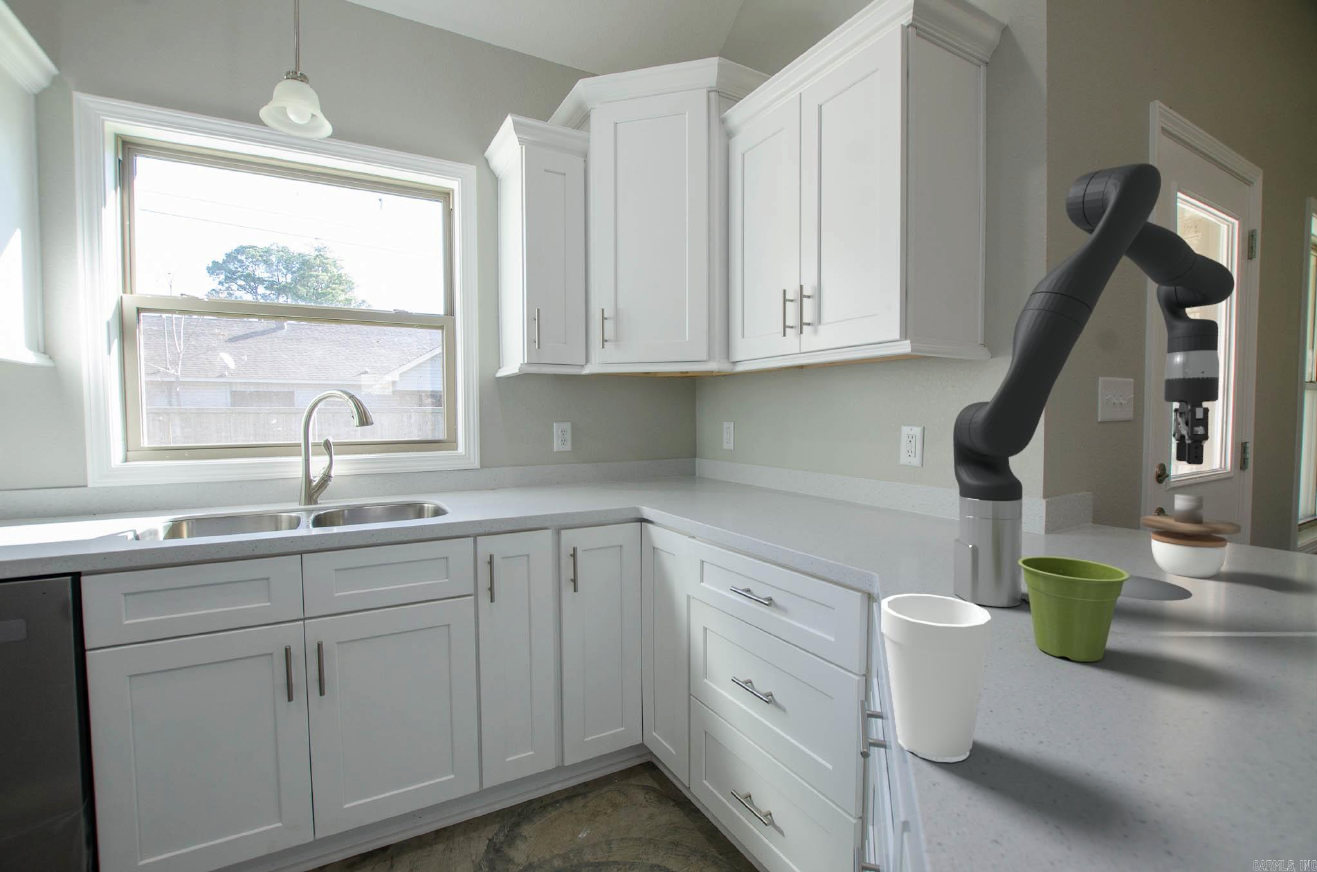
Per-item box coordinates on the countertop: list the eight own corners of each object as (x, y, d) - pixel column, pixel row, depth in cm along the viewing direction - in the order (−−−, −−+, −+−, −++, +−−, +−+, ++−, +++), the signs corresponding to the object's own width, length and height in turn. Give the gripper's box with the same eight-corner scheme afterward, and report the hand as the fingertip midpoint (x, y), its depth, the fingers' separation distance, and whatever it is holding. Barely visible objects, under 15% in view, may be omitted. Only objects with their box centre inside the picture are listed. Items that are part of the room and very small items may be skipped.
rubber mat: (1113, 603, 95) (1113, 600, 95) (1047, 575, 112) (1047, 572, 112) (1220, 603, 95) (1221, 600, 95) (1138, 575, 112) (1138, 572, 112)
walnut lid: (1181, 534, 104) (1182, 501, 103) (1122, 520, 118) (1122, 491, 117) (1263, 534, 103) (1264, 500, 103) (1194, 520, 117) (1194, 490, 117)
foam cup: (864, 720, 60) (864, 595, 60) (950, 715, 61) (951, 592, 60) (912, 777, 50) (912, 629, 50) (1013, 770, 51) (1014, 624, 51)
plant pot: (1096, 679, 69) (1097, 584, 68) (997, 644, 79) (998, 562, 79) (1147, 659, 74) (1148, 571, 74) (1048, 629, 84) (1049, 552, 84)
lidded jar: (1242, 585, 104) (1243, 533, 104) (1173, 582, 107) (1174, 531, 106) (1199, 570, 115) (1200, 522, 115) (1137, 567, 117) (1138, 521, 117)
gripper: (1229, 373, 101) (1227, 466, 102) (1208, 377, 114) (1205, 461, 114) (1173, 375, 105) (1170, 464, 106) (1157, 379, 118) (1155, 459, 118)
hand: (1188, 462), depth 110 cm, fingers open, 8 cm apart
